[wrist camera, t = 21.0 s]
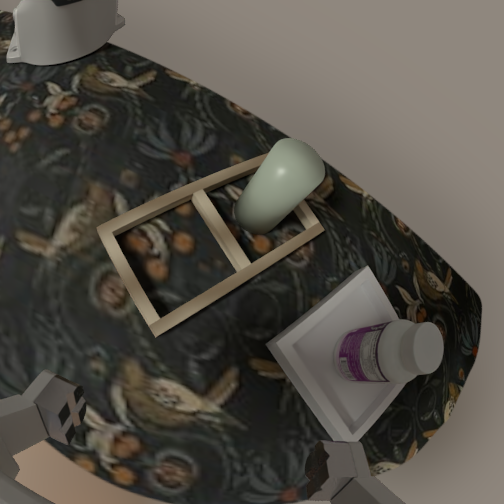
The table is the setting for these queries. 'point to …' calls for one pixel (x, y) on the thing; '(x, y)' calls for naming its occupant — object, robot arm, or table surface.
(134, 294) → the light wood flat frame
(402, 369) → the pill bottle
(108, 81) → the table surface
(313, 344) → the grey tray
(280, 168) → the sage vial
